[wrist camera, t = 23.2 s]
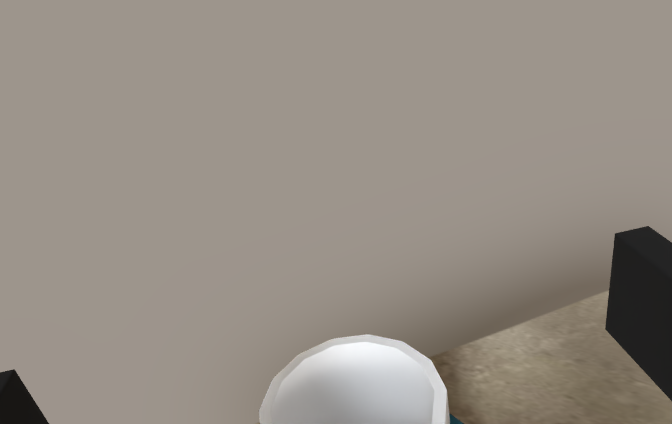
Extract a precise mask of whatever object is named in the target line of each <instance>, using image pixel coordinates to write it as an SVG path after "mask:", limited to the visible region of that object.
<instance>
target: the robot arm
mask: <svg viewBox="0 0 672 424" xmlns="http://www.w3.org/2000/svg"><path fill="white" fill-rule="evenodd" d="M605 329H606V330H607V331H608V333H609V334H610V335H611V336H612V337H613V338H614V339H615V340H616V341H617V342H618V343H619V345H620V346H621V347H622V348H623V349H624V350H625V351H626V352H627V353H628V354H629V355H630V356H631V358H632V359H633V360H634V361H635V362H636V363H637V364H638V365H639V366H640V367H641V368H642V369H643V371H644V372H645V373H646V374H647V375H648V376H649V377H650V378H651V379H652V380H653V381H654V382H655V384H656V385H657V386H658V387H659V388H660V389H661V390H662V391H663V392H664V393H665V394H666V395H667V397H668V398H669V399H670V400H671V401H672V243H671V242H670V241H669V240H667V239H666V238H664V237H663V236H662V235H660V234H659V233H657V232H656V231H654V230H653V229H652V228H650V227H649V226H647V227H642V228H638V229H633V230H629V231H624V232H620V233H616V234H615V240H614V250H613V259H612V269H611V279H610V288H609V298H608V308H607V318H606V328H605ZM0 424H49V423H48V422H47V420H46V418H45V417H44V415H43V414H42V412H41V411H40V409H39V407H38V406H37V405H36V403H35V401H34V400H33V398H32V397H31V395H30V393H29V392H28V390H27V389H26V387H25V385H24V384H23V382H22V381H21V379H20V377H19V376H18V374H17V373H16V371H15V370H10V371H5V372H1V373H0Z"/></svg>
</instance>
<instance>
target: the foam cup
mask: <svg viewBox="0 0 672 424" xmlns="http://www.w3.org/2000/svg"><path fill="white" fill-rule="evenodd" d="M259 417H260V424H450V417H449V406H448V396H447V389H446V387H445V385H444V383H443V381H442V380H441V378H440V376H439V374H438V372H437V370H436V369H435V367H434V365H433V363H432V361H431V360H430V359H429V358H427V357H426V356H424V355H422V354H421V353H420V352H418V351H417V350H415V349H413V348H412V347H411V346H409V345H408V344H406V343H404V342H403V341H399V340H394V339H389V338H384V337H379V336H374V335H370V334H365V335H357V336H350V337H341V338H333V339H330V340H328V341H326V342H324V343H321V344H319V345H317V346H315V347H313V348H310V349H308V350H306V351H304V352H302V353H300V354H298V355H297V356H296V357H295V358H294V359H293V360H292V361H291V362H290V363H289V364H288V365H287V366H286V367H284V368H283V369H282V370H281V371H280V372H279V373H278V374H277V375H276V376H275V377H274V378H273V379H272V381H271V384H270V386H269V388H268V391H267V393H266V395H265V398H264V400H263V402H262V405H261V407H260V409H259Z"/></svg>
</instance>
